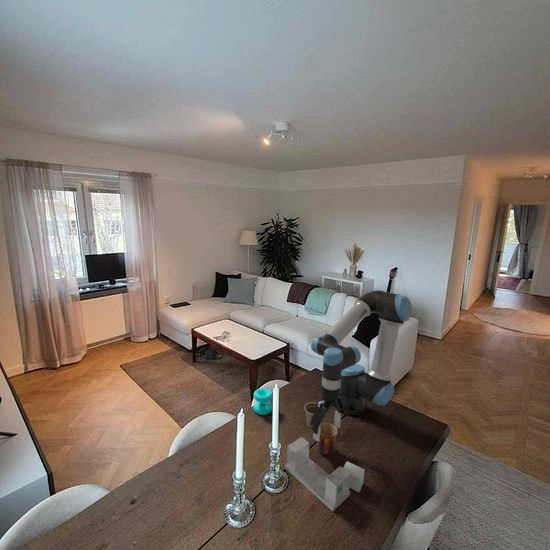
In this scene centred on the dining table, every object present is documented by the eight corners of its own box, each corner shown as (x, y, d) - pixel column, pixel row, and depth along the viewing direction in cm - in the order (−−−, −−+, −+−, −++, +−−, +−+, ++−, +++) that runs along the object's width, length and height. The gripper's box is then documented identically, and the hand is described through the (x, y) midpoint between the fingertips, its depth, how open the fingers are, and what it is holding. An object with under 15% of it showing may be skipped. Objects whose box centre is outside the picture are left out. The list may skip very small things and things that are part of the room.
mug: (316, 441, 137) (317, 421, 135) (336, 445, 135) (338, 424, 133) (314, 462, 125) (315, 440, 123) (336, 466, 123) (337, 443, 121)
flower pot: (322, 432, 143) (324, 415, 141) (302, 429, 144) (303, 412, 143) (323, 419, 152) (324, 403, 151) (304, 416, 154) (304, 401, 152)
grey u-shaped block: (301, 455, 128) (302, 435, 127) (350, 495, 110) (352, 473, 109) (284, 467, 122) (284, 446, 120) (333, 512, 104) (335, 488, 102)
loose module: (345, 474, 120) (346, 461, 118) (363, 483, 116) (364, 469, 115) (340, 483, 115) (342, 469, 114) (359, 492, 112) (360, 478, 111)
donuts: (269, 399, 150) (250, 395, 153) (268, 418, 152) (250, 413, 155) (275, 389, 159) (257, 385, 162) (275, 406, 161) (257, 402, 164)
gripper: (341, 373, 135) (337, 416, 139) (303, 392, 119) (299, 440, 122) (356, 380, 130) (351, 425, 133) (317, 401, 113) (313, 451, 117)
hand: (326, 432), depth 128 cm, fingers open, 13 cm apart
